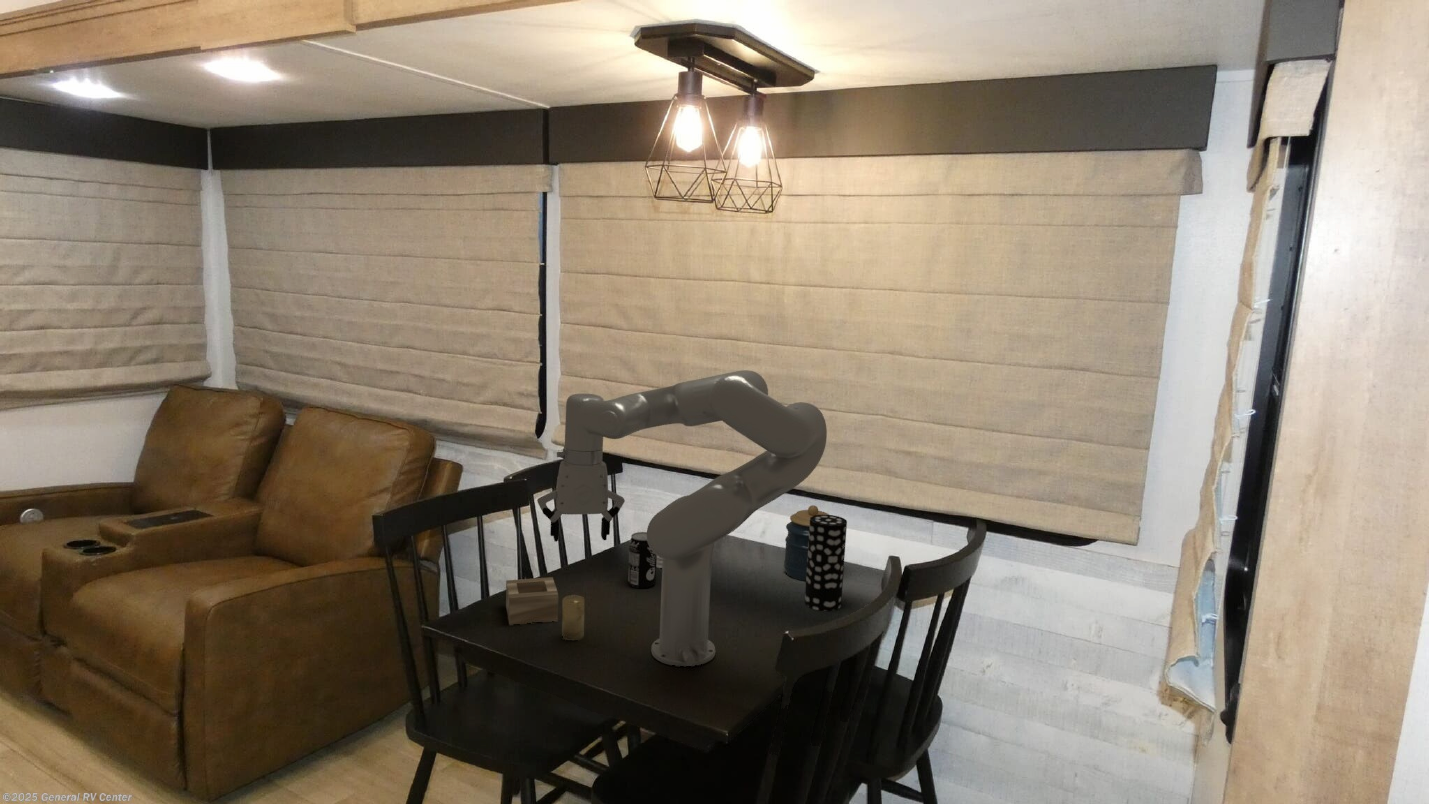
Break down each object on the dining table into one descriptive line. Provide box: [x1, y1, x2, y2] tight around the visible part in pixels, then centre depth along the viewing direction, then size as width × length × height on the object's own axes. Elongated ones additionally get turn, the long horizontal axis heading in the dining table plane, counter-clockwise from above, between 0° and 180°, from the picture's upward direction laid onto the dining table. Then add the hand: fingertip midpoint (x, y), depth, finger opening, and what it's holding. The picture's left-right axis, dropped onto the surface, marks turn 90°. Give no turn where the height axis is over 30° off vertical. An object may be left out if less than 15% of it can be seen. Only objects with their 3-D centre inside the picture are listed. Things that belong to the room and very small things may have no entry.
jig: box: [505, 576, 559, 626], centre depth 181 cm, size 10×10×6 cm
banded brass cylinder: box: [561, 594, 585, 639], centre depth 171 cm, size 4×4×8 cm
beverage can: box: [627, 531, 657, 589], centre depth 200 cm, size 7×7×12 cm
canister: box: [783, 504, 830, 581], centre depth 212 cm, size 13×13×18 cm
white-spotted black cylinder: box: [804, 514, 848, 612], centre depth 193 cm, size 8×8×20 cm
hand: (579, 538), depth 170 cm, fingers open, 9 cm apart
